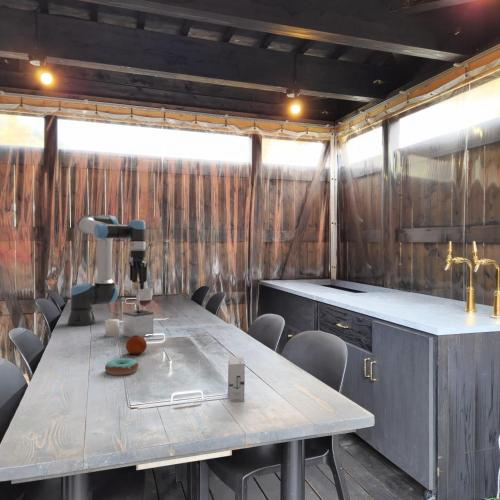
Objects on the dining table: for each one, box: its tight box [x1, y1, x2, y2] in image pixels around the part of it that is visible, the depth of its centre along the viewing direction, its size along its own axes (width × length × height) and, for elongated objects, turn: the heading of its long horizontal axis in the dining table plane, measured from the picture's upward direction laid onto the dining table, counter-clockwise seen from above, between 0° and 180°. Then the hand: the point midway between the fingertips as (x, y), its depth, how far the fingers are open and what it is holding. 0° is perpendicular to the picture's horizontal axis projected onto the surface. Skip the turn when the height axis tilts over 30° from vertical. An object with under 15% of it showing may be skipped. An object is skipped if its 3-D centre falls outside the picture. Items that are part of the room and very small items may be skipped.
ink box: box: [227, 356, 246, 403], centre depth 134 cm, size 9×5×12 cm, turn 5°
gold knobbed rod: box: [134, 281, 141, 313], centre depth 222 cm, size 7×7×19 cm
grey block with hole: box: [122, 309, 154, 338], centre depth 222 cm, size 11×11×12 cm
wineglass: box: [135, 287, 154, 311], centre depth 241 cm, size 9×10×22 cm
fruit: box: [125, 335, 147, 355], centre depth 185 cm, size 9×9×8 cm
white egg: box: [104, 318, 120, 338], centre depth 222 cm, size 7×7×8 cm
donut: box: [104, 357, 139, 376], centre depth 160 cm, size 12×12×4 cm
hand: (138, 294), depth 221 cm, fingers closed on gold knobbed rod, 4 cm apart
